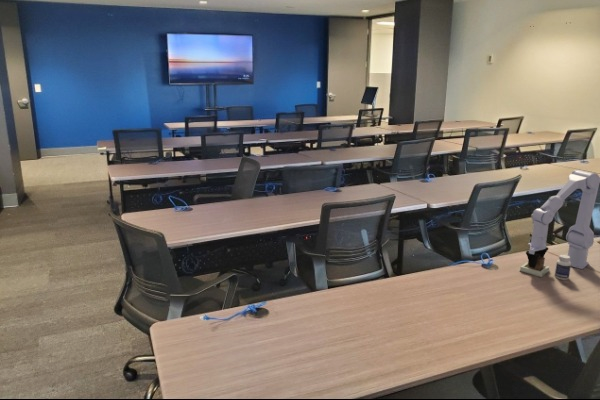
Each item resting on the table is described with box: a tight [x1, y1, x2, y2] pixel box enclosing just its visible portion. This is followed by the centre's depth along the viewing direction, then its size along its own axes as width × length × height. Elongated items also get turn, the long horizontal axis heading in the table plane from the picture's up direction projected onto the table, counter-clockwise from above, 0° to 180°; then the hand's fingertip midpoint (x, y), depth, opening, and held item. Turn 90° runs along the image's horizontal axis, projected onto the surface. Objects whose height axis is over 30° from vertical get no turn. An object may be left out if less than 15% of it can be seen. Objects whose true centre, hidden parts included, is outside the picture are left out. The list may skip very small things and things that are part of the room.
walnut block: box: [527, 256, 546, 271], centre depth 201 cm, size 5×5×6 cm
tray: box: [519, 261, 550, 278], centre depth 201 cm, size 9×9×2 cm
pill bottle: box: [554, 254, 572, 281], centre depth 194 cm, size 5×5×10 cm
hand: (535, 264), depth 201 cm, fingers open, 7 cm apart
